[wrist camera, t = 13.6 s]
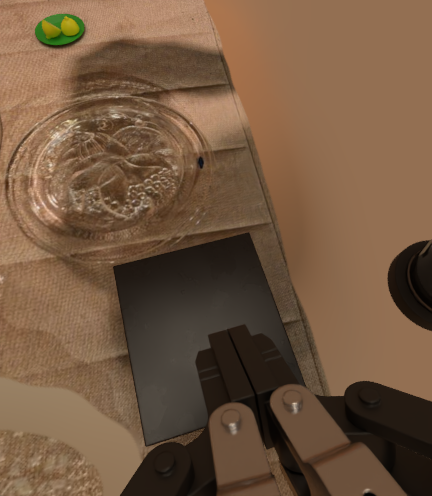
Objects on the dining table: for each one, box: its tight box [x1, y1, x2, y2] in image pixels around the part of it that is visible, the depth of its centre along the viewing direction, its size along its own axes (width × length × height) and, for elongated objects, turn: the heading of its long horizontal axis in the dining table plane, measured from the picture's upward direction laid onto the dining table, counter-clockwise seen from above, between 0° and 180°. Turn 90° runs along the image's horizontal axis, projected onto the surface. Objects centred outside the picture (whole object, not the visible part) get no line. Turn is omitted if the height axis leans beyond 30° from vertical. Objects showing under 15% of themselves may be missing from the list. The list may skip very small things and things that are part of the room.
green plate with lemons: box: [35, 14, 84, 45], centre depth 57 cm, size 8×8×3 cm
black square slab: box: [113, 233, 306, 447], centre depth 29 cm, size 15×13×1 cm
